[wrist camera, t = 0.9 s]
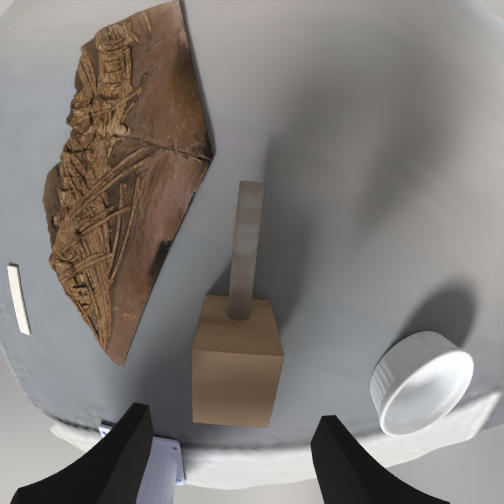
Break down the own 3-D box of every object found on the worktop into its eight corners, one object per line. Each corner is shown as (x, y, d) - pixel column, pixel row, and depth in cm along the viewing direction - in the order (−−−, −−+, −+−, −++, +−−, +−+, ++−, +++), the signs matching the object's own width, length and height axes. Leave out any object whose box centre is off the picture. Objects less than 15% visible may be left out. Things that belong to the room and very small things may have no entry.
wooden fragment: (104, 5, 12) (99, -1, 11) (256, 12, 13) (257, 4, 12) (50, 335, 18) (44, 341, 17) (173, 375, 19) (170, 384, 18)
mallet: (260, 363, 19) (267, 427, 13) (202, 358, 19) (192, 422, 13) (285, 185, 16) (312, 191, 10) (215, 177, 16) (201, 179, 10)
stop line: (31, 334, 18) (29, 335, 18) (21, 331, 18) (20, 332, 17) (17, 267, 16) (16, 267, 16) (8, 265, 16) (7, 265, 16)
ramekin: (348, 409, 21) (364, 445, 17) (383, 323, 19) (411, 355, 15) (424, 398, 22) (443, 426, 18) (460, 322, 19) (489, 345, 15)
